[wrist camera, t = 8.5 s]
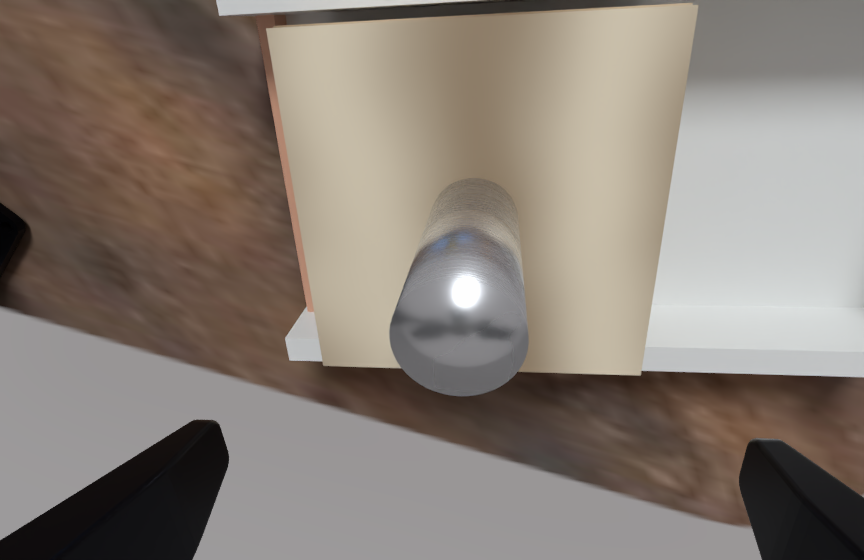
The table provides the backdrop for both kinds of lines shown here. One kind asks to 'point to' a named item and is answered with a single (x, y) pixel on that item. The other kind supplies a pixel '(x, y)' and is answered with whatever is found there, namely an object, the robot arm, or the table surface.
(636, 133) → the beige knobbed block
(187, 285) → the table surface
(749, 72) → the bay
